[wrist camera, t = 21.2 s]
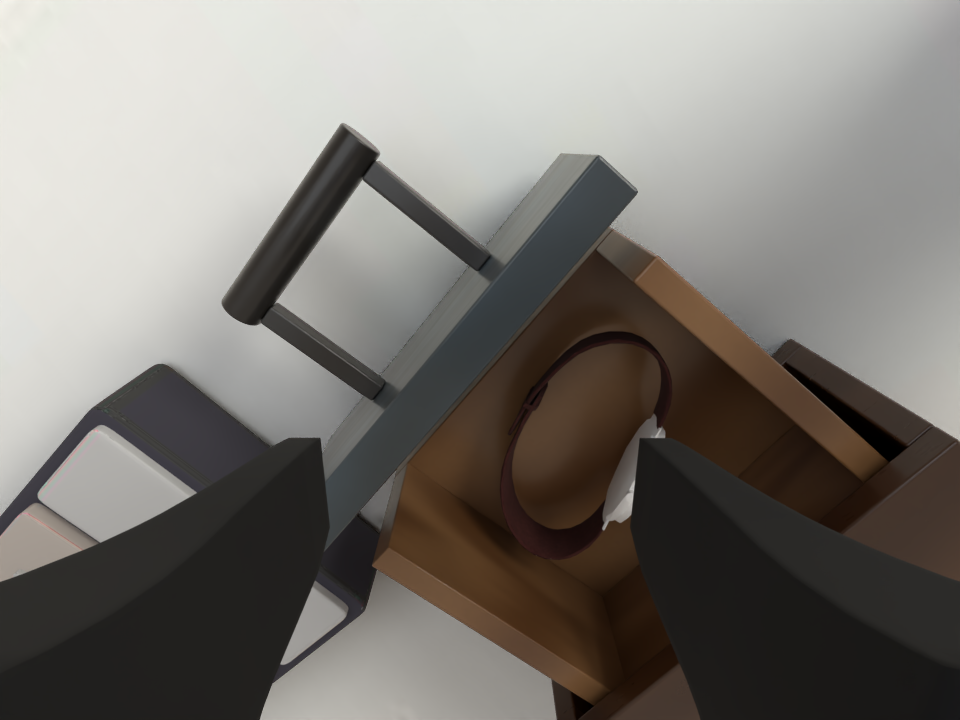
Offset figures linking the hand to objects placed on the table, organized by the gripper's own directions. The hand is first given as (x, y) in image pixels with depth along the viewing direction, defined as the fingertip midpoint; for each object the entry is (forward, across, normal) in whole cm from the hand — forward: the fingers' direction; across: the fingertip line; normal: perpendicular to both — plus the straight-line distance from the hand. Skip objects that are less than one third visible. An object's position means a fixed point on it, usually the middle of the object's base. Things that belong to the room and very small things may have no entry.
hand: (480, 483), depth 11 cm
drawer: (+9, +1, -1) cm, 9 cm away
